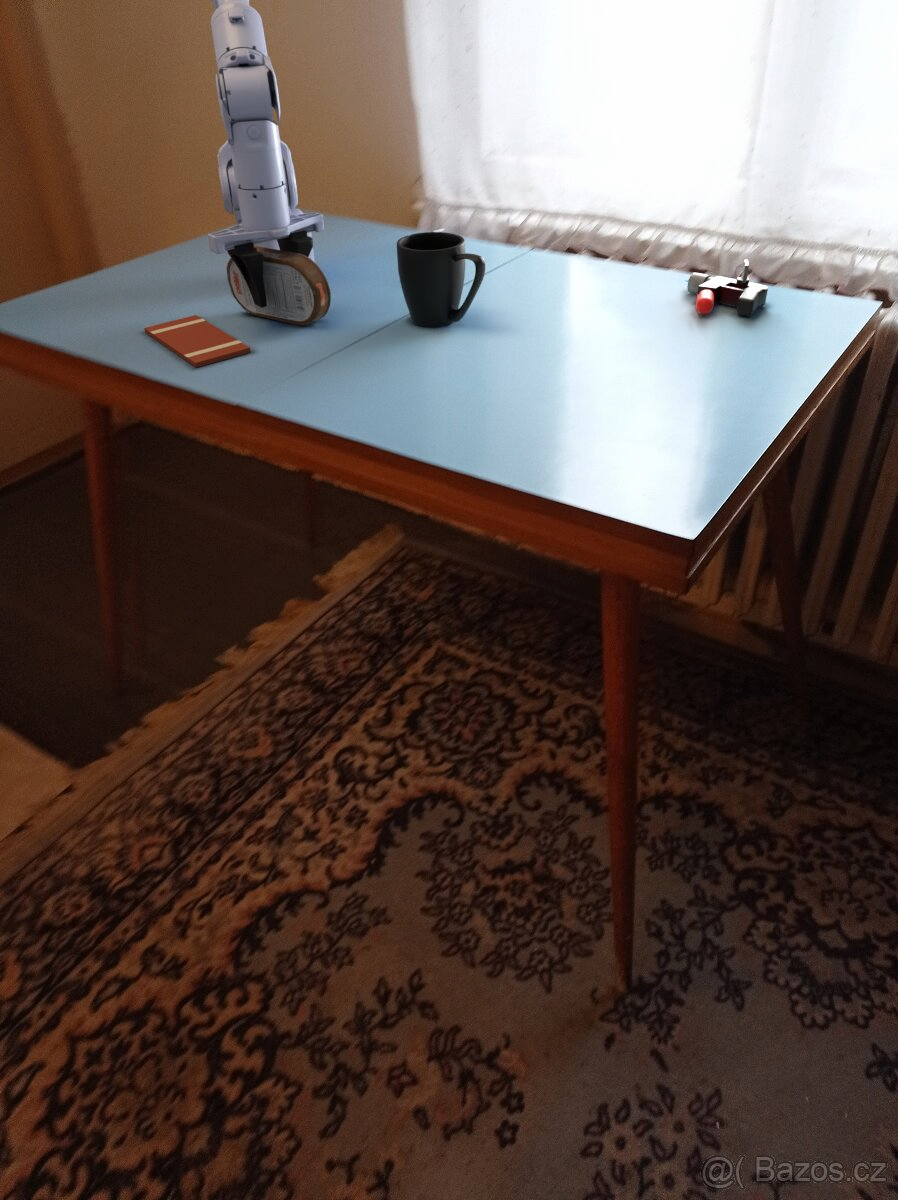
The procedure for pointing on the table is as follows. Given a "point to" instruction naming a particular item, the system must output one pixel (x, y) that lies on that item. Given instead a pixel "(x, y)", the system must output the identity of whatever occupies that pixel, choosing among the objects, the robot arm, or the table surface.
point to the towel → (197, 340)
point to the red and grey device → (727, 292)
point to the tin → (285, 288)
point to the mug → (436, 277)
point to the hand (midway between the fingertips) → (277, 300)
